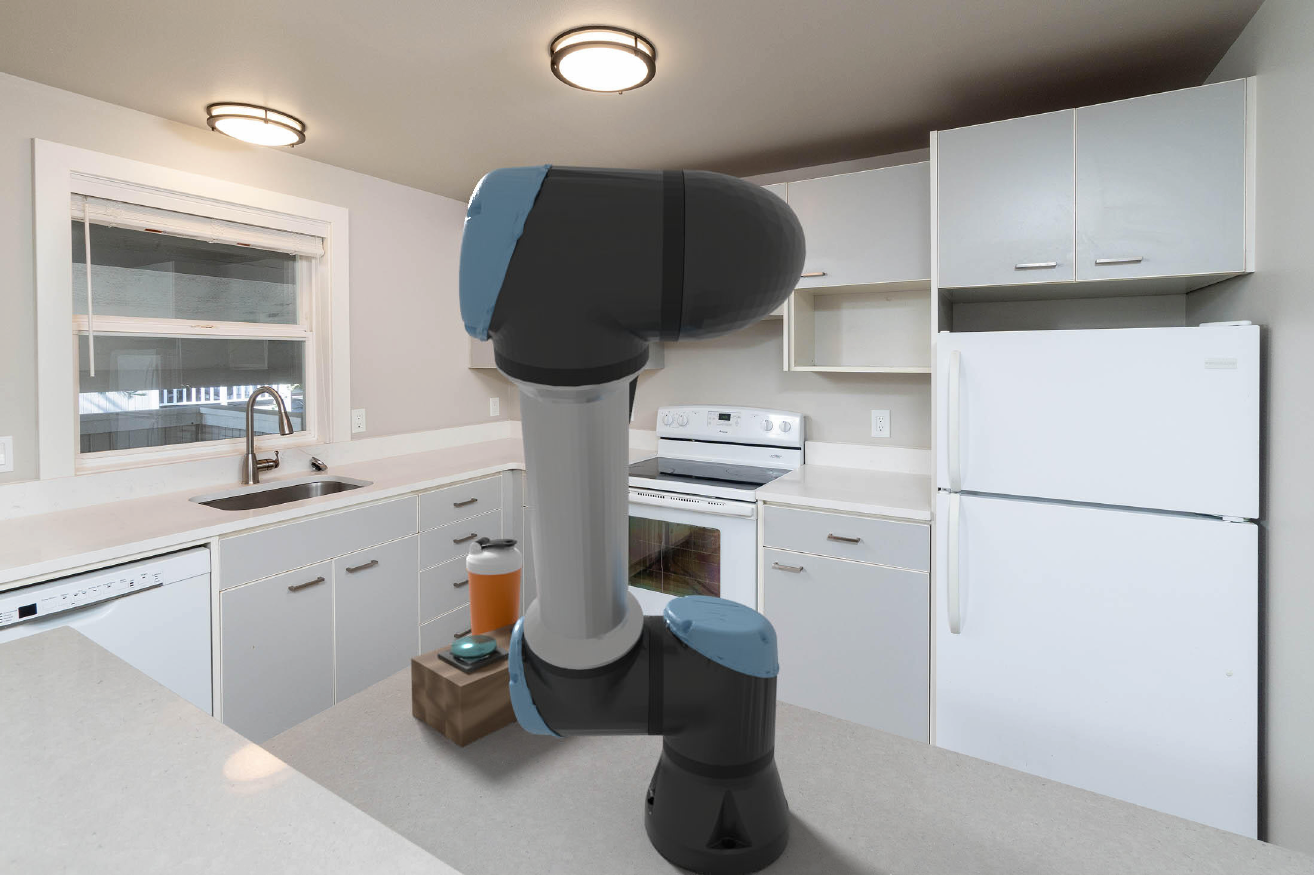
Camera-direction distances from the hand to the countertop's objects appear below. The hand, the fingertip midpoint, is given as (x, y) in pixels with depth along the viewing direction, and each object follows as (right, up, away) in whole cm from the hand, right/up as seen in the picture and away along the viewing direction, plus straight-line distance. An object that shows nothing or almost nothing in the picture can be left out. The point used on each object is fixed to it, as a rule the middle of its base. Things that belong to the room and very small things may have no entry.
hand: (606, 475), depth 95 cm
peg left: (-18, -32, -5) cm, 37 cm away
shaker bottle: (-19, -31, +11) cm, 38 cm away
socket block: (-14, -32, -1) cm, 35 cm away
